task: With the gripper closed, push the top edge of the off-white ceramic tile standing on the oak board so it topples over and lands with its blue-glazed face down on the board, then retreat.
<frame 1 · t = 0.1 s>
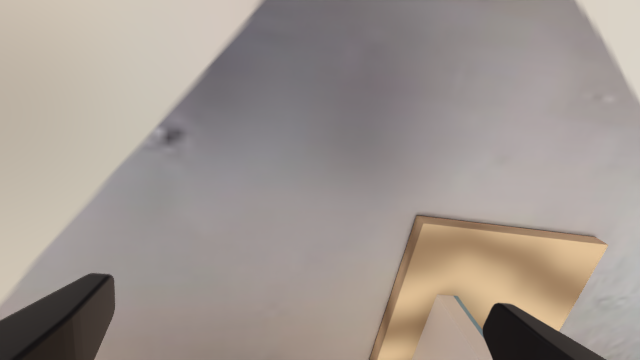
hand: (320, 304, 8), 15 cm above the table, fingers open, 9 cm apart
board: (467, 324, 29), on the table
tile: (431, 333, 27), point 1 cm above the table, touching board
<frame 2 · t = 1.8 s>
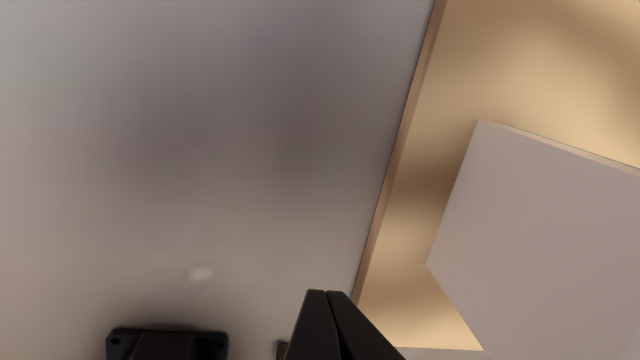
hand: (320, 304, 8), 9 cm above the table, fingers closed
board: (517, 199, 18), on the table
tile: (465, 200, 17), point 1 cm above the table, touching board
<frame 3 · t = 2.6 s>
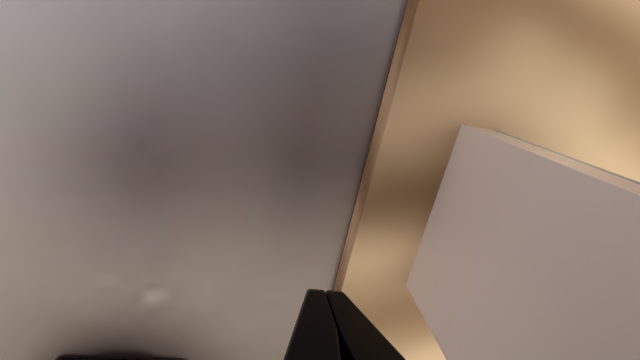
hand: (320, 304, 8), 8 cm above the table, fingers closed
board: (509, 212, 17), on the table
tile: (449, 214, 15), point 1 cm above the table, touching board
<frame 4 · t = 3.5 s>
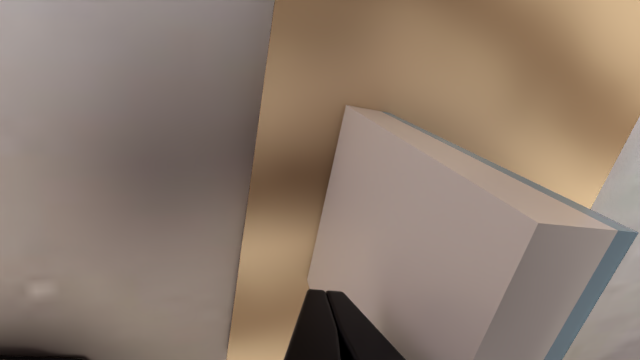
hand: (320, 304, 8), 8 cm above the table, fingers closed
board: (419, 201, 16), on the table
tile: (344, 202, 14), point 1 cm above the table, touching board, gripper
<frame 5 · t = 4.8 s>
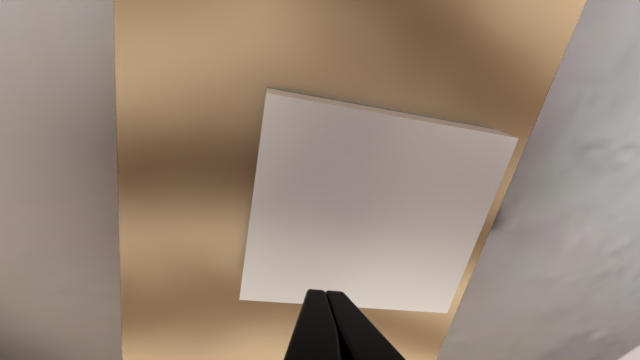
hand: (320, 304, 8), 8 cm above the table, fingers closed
board: (322, 186, 15), on the table
tile: (252, 198, 12), point 2 cm above the table, tilted 90°, touching board
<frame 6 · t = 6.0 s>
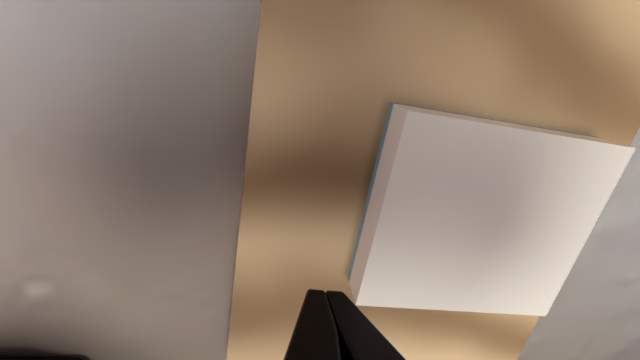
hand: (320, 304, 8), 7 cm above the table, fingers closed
board: (421, 194, 15), on the table
tile: (372, 208, 13), point 2 cm above the table, tilted 90°, touching board
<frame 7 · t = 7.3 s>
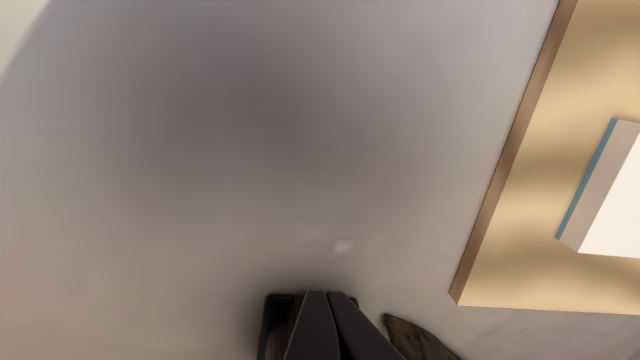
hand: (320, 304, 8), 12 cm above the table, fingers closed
board: (603, 179, 22), on the table
tile: (594, 187, 20), point 2 cm above the table, tilted 90°, touching board
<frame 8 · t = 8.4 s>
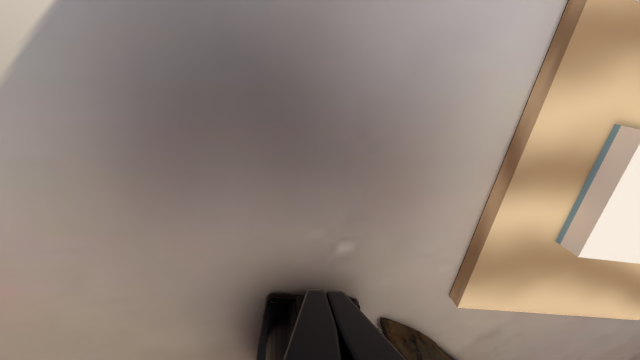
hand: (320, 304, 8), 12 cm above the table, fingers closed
board: (604, 185, 22), on the table
tile: (595, 192, 20), point 2 cm above the table, tilted 90°, touching board
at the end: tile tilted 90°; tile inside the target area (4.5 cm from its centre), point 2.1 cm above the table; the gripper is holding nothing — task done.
